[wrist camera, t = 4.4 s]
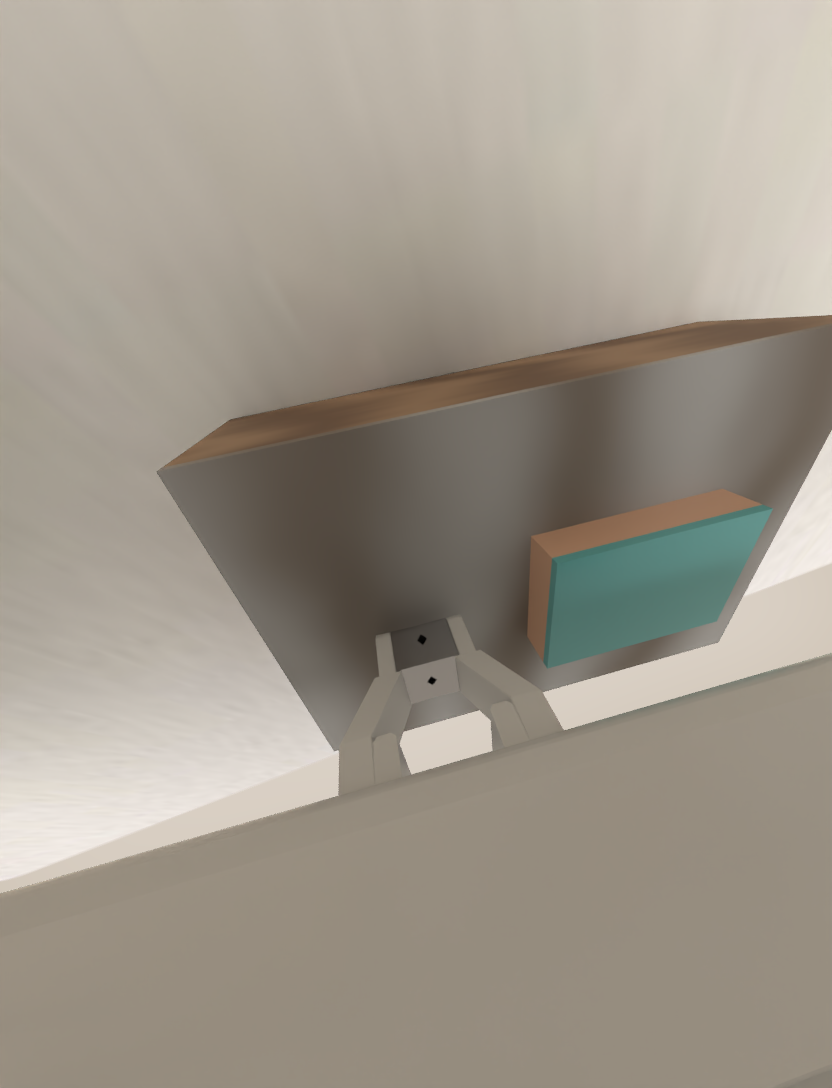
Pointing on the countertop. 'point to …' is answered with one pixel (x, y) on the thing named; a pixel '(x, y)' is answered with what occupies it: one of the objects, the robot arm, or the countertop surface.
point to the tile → (638, 574)
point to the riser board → (492, 493)
